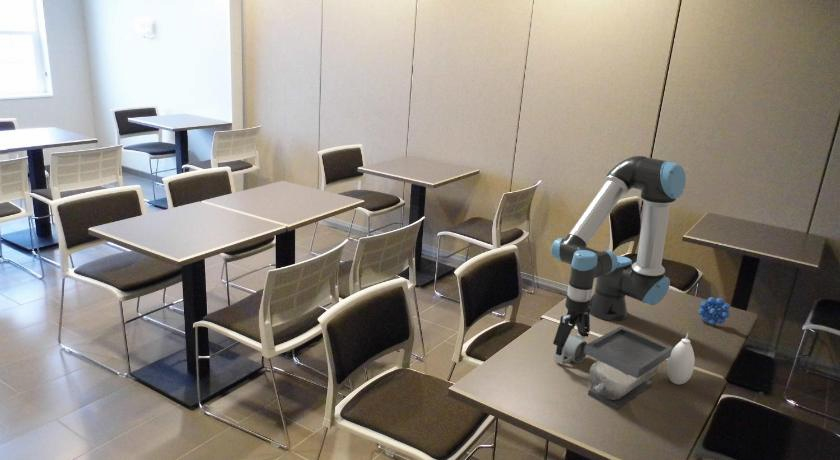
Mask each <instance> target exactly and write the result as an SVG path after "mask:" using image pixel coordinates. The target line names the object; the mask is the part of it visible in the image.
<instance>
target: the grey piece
mask: <svg viewBox="0 0 840 460" xmlns="http://www.w3.org/2000/svg"><path fill="white" fill-rule="evenodd" d="M672 350H673V348H672V347H670V346H667V345H665V344H663V343H660V342H658V341H655V340H654V339H651V338H648V337H646V336H644V335H641V334H639V333H636V332H634V331H633V330H632V331H631V330H630V329H627V328H625V327H622V326H619V327H617V328H614V329H613V330H612V331H611V330H610V332H609V331H608V332H607V333H606V334H603V335H601V336H600V337H598V338H595V339H594V340H592V341H590V342H587V344H586V345H585V350H584V353H585V354H587V355H586V356H589V357H591V358H593V359H595V360H596V361H595V362H593V364H591V366H590V367H589V368H590V369H589V374H588V375H589V380H590V383H591V386H592V388H590V389H589V390H588V392H587V395H588V396H590V397H592V398H593V399H595V400H597V401H599V402H601V403H603V404H605V405H606V406H609V407H611V408H613V409H614V410H616V411H618V410H620V409H622V408H623V407H624V406H626V405H627V404H628V403H630V402H632V401H633V400H634V399H636V398H637V397H638V396H640V395H641V394H643V393H644V392H646V391H647V390H648V389H650V388H651V387H652V386H653V383H654V381H652V380H649V379H650V378H652V377H653V376H654V375H656V374H657V372H658V370H659V367H660V364H662V363H663V362H665V361H666V360H668V358H669V357H670V356H671V352H672Z"/></svg>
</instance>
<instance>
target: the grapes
mask: <svg viewBox="0 0 840 460" xmlns="http://www.w3.org/2000/svg"><path fill="white" fill-rule="evenodd" d="M724 302H725V300H724V298H721V297H718V298H715V297H713V296H710V297H708V298H707V299H706V300H704V301H701V302H700V304H699V305H700V308H699V309H698V311H697V313H698V314H699V316H701V318H700V319H701V321H702V322H703V323H707V322H708V324H709V325H710V326H715V325H717V324H719V325H722V324H723V325H724V323H725V322H726V319H728V318H730V316H731V313H730V311H729V310H730V308H731V305H730V304H729V303H726V302H725V303H724Z"/></svg>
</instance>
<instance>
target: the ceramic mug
mask: <svg viewBox="0 0 840 460" xmlns="http://www.w3.org/2000/svg"><path fill="white" fill-rule="evenodd" d="M586 344H588V342H587V341H586V340H584V341H583V340H581V339H578V338H576V336H574V335H571V334H569V337H568V339H567V341H566V343H565V345H564V346H566V348H565V354H564V358H566V359H564V360H563V364H562V365H565V364H568V363H570V362H574V363H576V364H579V363H581V362H583V361H584V360H585V359H586V357H587V356H588V355H587V354H585V353H584V350H585V345H586ZM555 356H556V351H555V352H554V357H555Z"/></svg>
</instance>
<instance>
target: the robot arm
mask: <svg viewBox="0 0 840 460" xmlns="http://www.w3.org/2000/svg"><path fill="white" fill-rule="evenodd" d="M686 175H687V174H686V172H685V169H684V168H683V166H682V165H680V164H678V163H674V162H672V161H669V160H662V159H658V158H654V157H653V158H651V157H647V156H644V155H635V156H631V157H628V158H626V159H624V160H622V161H620V162H619V163H618V164H616V165H615V166H614V167H612V168H611V170H609V172H608V173H607V174H606V175H605V176H604V178H603V185H602V186H601V187H600V189H599V191H598V192H597V193H596V195H595V196H594V197H593V199H592V200H591V201H590V203H589V204H588V206H587V207H586V209H585V210H583V211H584V212H583V213H582V214H581V215H580V218H579V219H577V221H576V222H575V224H574V225H573V227H572V229H571V230H570V231H569V233H568V234H567V235H566V236H565V238H563V237H558V238H557V239H554V240H553V242H552V245H551V247H550V254H551V256H552V257H553V258H554V259H555V260H558V261H560V262H562V263H565V264H569V265H571V267H570V274H569V279H568V280H569V281H568V284H567V286H568V288H567V294H566V297H565V304H564V305H565V308H566V309H567V313H566V315H565V316H564V315H561V316H560V321H559V325H558V328H557V330H556V333H555V337H554V339H553V343H552V344H553V345H555V346H556V350H555V352H556V356H555V355H554V362H555V363H557V364H559V365H564V364H563V360H565V356H564V354H565V348H566V346H564V345H565V343H566V341H567V339H568V337H569V335H571V333H572V330H573V329H575V327H576V328H577V332H578V333H577V334H576V336H575V337H576V338H578V339H581V340H583V341H585V339H586V338H588V337H589V333H590V332H591V328H590V327H591V325H590V323H591V322H590V319H591V318H590V315H592V316H594V317H595V318H598V319H600V320H605V321H615V322H616V321H622V320H625V319H626V317H627V315H628V309H627V301H626V297H629V298H632V299H635V300H636V301H639V302H642V303H643V304H648V305H651V306H655V305H658V304H659V303H660V302H662V300H663V299H664V298H665V296H666V295H667V293H668V291H669V288H670V285H671V284H670V283H671V281H670V278H669V277H667V276H665V275H666V269H665V267H664V266H663V264H662V263H663V258H664V256H663V255H664V250H665V243H666V237H667V229H668V223H669V216H670V209H671V205H672V204H674V203H675V202H676V201H677V199H679V198H680V197H681V196H682V195H683V194H684V189H685V188H686V183H687V182H686V181H687V180H686V179H687V177H686ZM632 189H636V190H639V191H640V199H641V200H642V201H643V202H644V205H643V210H642V218H641V226H640V234H639V241H638V249H637V257H636V261H635V262H633V261H632V259H631V258H629V257H628V256H627V257H626V256H622V255H621V256H620V255H616V254H615V253H614V252H613V251H611V250H601V251H599V250H597V249H593V248H590V247H588V245H589V243H590V242H591V241H592V239H593V238H594V237H595V235H596V234H597V233H598V231H599V230H600V228H601V226H603V224H604V222H605V220H606V219H607V218H608V216H609V215H610V213H612V211H613V209H614V208H615V206H616V205H617V203H618V202H619V200H620V199H621V198H622V196H624V195H627V194H628V193H629V191H630V190H632ZM595 279H596V281H595ZM594 281H595V288H594V291H593V286H594V285H593V284H594ZM592 292H593V294H592Z"/></svg>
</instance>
